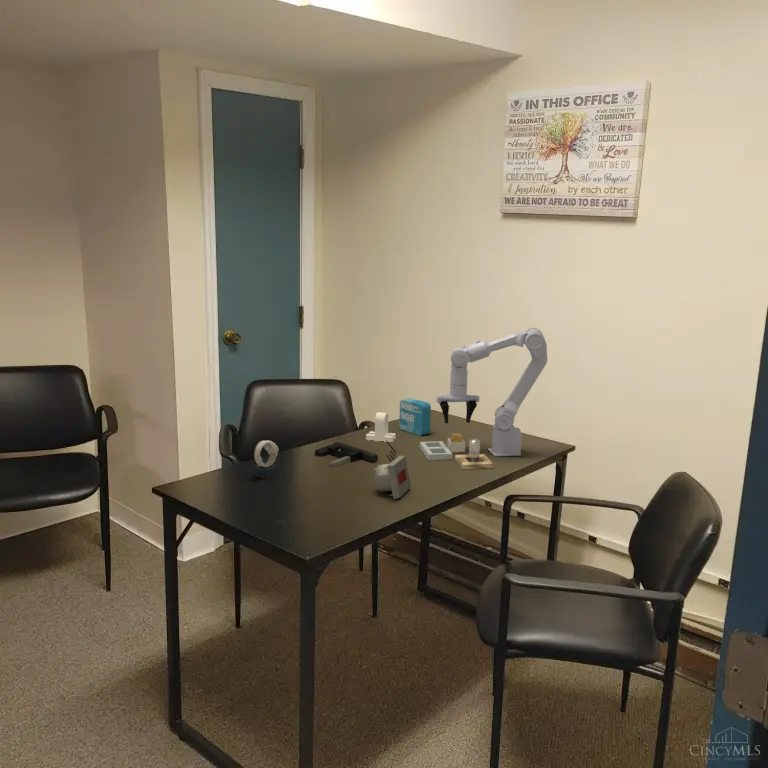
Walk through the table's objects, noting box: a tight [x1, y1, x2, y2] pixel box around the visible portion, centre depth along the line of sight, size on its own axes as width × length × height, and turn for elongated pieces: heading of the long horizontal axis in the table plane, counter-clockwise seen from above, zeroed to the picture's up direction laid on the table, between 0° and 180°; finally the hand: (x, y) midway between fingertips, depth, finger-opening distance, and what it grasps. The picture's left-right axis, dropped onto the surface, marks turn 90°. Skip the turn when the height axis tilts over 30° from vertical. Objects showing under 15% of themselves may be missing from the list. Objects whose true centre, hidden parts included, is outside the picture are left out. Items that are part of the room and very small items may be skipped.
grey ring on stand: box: [253, 439, 279, 479], centre depth 218 cm, size 6×8×11 cm
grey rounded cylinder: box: [468, 438, 481, 462], centre depth 233 cm, size 4×4×8 cm
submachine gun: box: [314, 441, 379, 468], centre depth 236 cm, size 3×20×16 cm
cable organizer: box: [365, 411, 397, 443], centre depth 257 cm, size 5×10×10 cm, turn 73°
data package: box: [398, 397, 432, 437], centre depth 267 cm, size 12×4×12 cm, turn 44°
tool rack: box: [419, 440, 453, 461], centre depth 243 cm, size 8×14×2 cm, turn 9°
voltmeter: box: [372, 441, 411, 500], centre depth 213 cm, size 27×11×10 cm, turn 13°
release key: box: [450, 432, 463, 442], centre depth 247 cm, size 3×3×3 cm
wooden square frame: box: [454, 453, 494, 470], centre depth 233 cm, size 10×10×2 cm
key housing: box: [446, 437, 466, 453], centre depth 247 cm, size 5×5×4 cm
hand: (457, 422), depth 245 cm, fingers open, 7 cm apart
